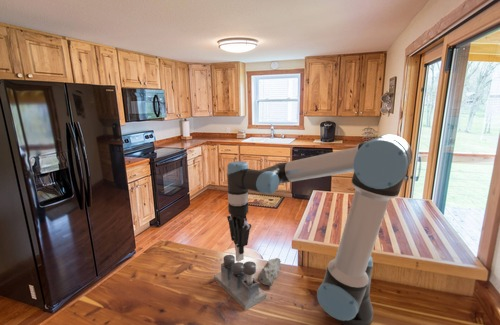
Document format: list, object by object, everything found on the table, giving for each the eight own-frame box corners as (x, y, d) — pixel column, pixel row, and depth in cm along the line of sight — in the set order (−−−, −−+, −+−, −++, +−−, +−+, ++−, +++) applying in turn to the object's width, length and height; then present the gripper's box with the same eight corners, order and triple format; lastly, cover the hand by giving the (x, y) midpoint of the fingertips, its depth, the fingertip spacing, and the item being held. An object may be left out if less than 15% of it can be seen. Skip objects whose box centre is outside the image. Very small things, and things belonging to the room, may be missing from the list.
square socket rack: (266, 298, 100) (266, 282, 99) (245, 310, 94) (245, 293, 93) (233, 270, 117) (233, 256, 116) (214, 279, 111) (214, 264, 110)
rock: (267, 264, 122) (267, 251, 120) (282, 268, 119) (282, 254, 118) (254, 285, 108) (255, 270, 106) (271, 289, 105) (271, 274, 104)
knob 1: (237, 278, 110) (236, 258, 108) (227, 283, 108) (227, 262, 106) (231, 273, 114) (230, 253, 112) (221, 277, 111) (221, 257, 109)
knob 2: (247, 287, 105) (246, 266, 103) (237, 292, 102) (237, 270, 100) (240, 281, 109) (240, 260, 107) (231, 286, 106) (230, 265, 104)
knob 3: (258, 288, 99) (258, 265, 97) (248, 293, 96) (248, 270, 94) (250, 282, 102) (250, 260, 100) (241, 287, 100) (241, 264, 98)
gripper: (257, 205, 95) (257, 263, 100) (236, 196, 105) (237, 249, 110) (240, 210, 91) (241, 271, 95) (220, 200, 101) (222, 256, 105)
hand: (239, 259), depth 103 cm, fingers closed
